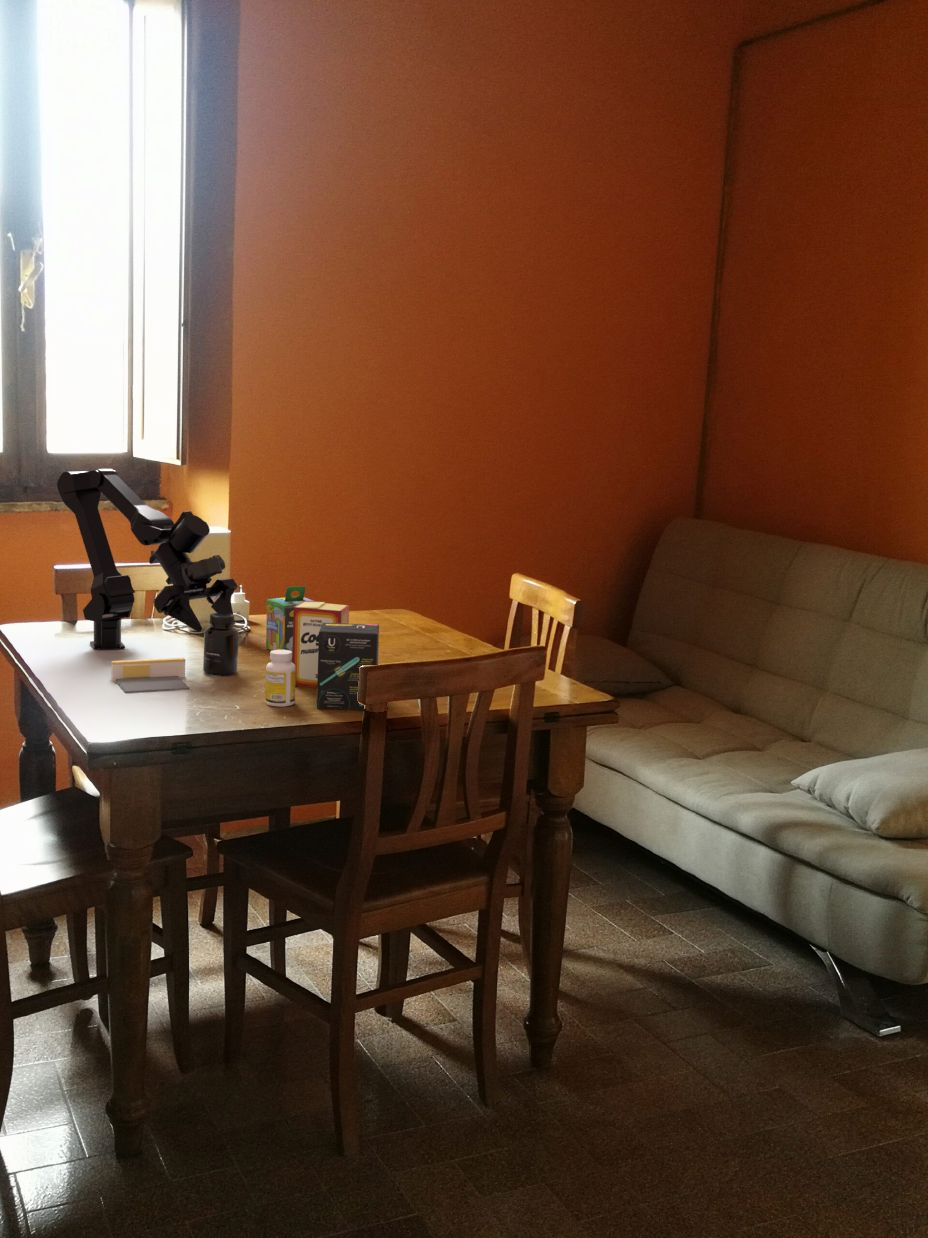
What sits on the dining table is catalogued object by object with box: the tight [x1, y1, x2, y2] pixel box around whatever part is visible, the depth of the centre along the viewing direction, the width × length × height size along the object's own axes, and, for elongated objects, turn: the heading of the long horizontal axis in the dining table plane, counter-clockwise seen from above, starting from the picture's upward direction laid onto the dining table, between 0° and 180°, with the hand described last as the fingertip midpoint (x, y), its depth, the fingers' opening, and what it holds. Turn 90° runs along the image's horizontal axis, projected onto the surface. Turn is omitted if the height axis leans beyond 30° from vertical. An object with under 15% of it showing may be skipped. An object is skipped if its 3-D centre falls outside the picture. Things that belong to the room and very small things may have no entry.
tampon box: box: [316, 623, 380, 711], centre depth 219 cm, size 11×9×15 cm
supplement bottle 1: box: [202, 612, 240, 677], centre depth 238 cm, size 7×7×12 cm
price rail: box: [111, 657, 186, 681], centre depth 232 cm, size 2×14×4 cm, turn 116°
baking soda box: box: [291, 601, 350, 689], centre depth 233 cm, size 10×6×16 cm
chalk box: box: [265, 585, 317, 651], centre depth 262 cm, size 9×9×15 cm
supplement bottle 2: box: [265, 650, 296, 708], centre depth 217 cm, size 5×5×10 cm
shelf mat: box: [115, 676, 190, 694], centre depth 226 cm, size 10×12×1 cm
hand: (217, 627), depth 238 cm, fingers open, 9 cm apart
